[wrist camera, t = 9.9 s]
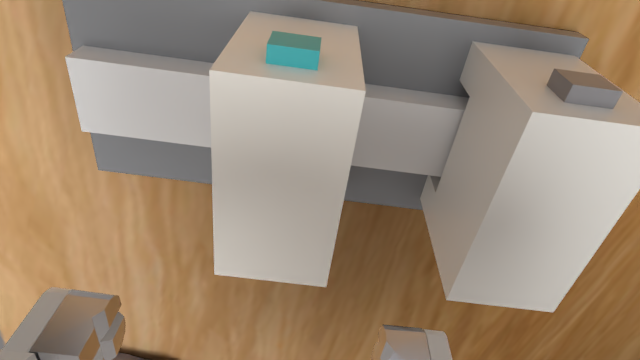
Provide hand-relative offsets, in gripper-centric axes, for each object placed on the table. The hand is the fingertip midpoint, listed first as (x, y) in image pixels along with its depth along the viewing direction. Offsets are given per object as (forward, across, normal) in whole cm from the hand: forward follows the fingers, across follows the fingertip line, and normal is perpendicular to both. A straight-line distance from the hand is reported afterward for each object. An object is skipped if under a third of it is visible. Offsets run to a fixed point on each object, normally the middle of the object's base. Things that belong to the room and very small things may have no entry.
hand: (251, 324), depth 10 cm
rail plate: (+13, +1, 0) cm, 13 cm away
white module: (+12, 0, 0) cm, 12 cm away
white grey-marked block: (+12, +10, 0) cm, 15 cm away
